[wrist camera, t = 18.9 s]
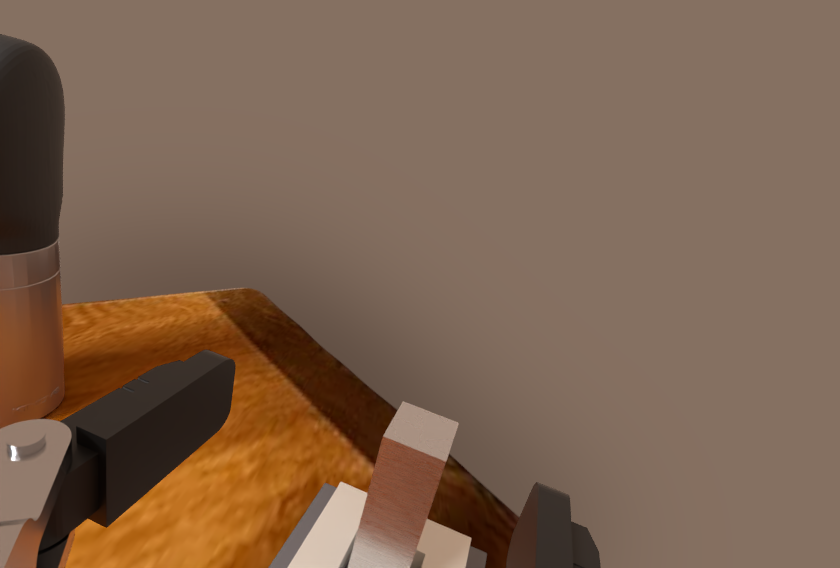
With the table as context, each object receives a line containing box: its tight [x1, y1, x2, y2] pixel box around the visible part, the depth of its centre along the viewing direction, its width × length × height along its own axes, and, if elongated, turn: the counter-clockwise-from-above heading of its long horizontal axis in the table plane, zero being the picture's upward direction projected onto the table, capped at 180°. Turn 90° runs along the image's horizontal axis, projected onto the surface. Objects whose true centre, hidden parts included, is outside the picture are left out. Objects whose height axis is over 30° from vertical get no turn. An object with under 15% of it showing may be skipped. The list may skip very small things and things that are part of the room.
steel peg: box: [348, 401, 459, 568], centre depth 32 cm, size 4×4×16 cm
